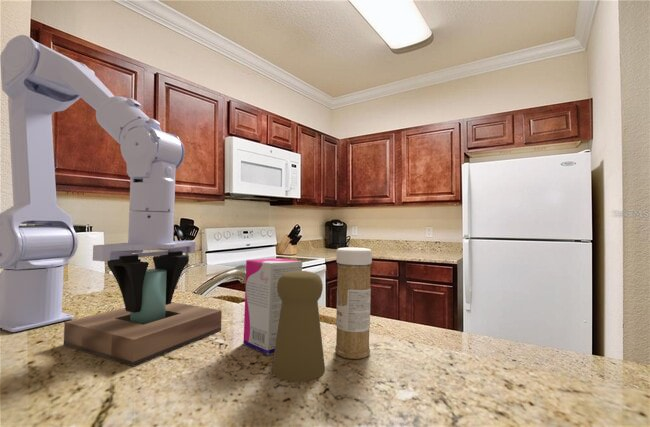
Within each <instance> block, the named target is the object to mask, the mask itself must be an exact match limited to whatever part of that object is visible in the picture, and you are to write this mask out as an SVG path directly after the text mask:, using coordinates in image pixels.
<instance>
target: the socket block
mask: <svg viewBox="0 0 650 427" xmlns="http://www.w3.org/2000/svg"><path fill="white" fill-rule="evenodd" d="M222 311H223V310H221V309H216V308H210V307H204V306H198V305H191V304H185V303H179V302H173V301H171V304H168V305H166V310H165V318H164V319H161V320H157V321H154V322H151V323H147V324H144V325H142V324H138V323H133V322H130V312H128V311H126V309H125V307H122V308H118V309H114V310H111V311H105V312H102V313H97V314H93V315H90V316H84V317H80V318H76V319H70V320H66V321H64V324H63V325H64V326H63V327H64V329H63V346H65V347H69V348H73V349H75V350H79V351H81V352H85V353H88V354H91V355H94V356H98V357H102V358H105V359H108V360H111V361H114V362H117V363H122V364H124V365H127V366H131V367H134V366H137V365H140V364H142V363H145V362H147V361H149V360H152V359H154V358H157V357H159V356H162V355H164V354H167V353H169V352H171V351H174V350H177V349H178V348H181V347H184V346H186V345H188V344H191V343H193V342H196V341H198V340H201V339H203V338H206V337H208V336H210V335H213V334H215V333H217V332H221V330H222V317H223V316H222V313H223V312H222Z"/></svg>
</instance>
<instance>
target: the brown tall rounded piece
mask: <svg viewBox="0 0 650 427" xmlns="http://www.w3.org/2000/svg"><path fill="white" fill-rule="evenodd" d="M323 286H324V285H323V279H322V278H321V276H320V275H319V274H317V273H316V272H312V271H307V270H302V271H292V272H288V273H284V274H283V275H282V276H281V277H280V279H279V280H278V284H277V291H278V296H279V297H280V299H281V300H282V304H281V311H280V318H279V324H278V331H277V338H276V345H275V351H274V353H273V360H272V366H271V373H272V375H273V376H275V378H277V379H280V381H281V380H282V381H285V382H286V381H287V382H292V383H303V382H309V381H312V380H313V381H314V380H316V379H318V378H319V377H321V376H323V374H325V372H326V365H325V355H324V346H323V338H322V337H323V336H322V331H321V330H322V328H321V321H320V313H319V312H320V311H319V303H318V302H319V300H320V299H321V297H322V293H323V289H324V287H323Z"/></svg>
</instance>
